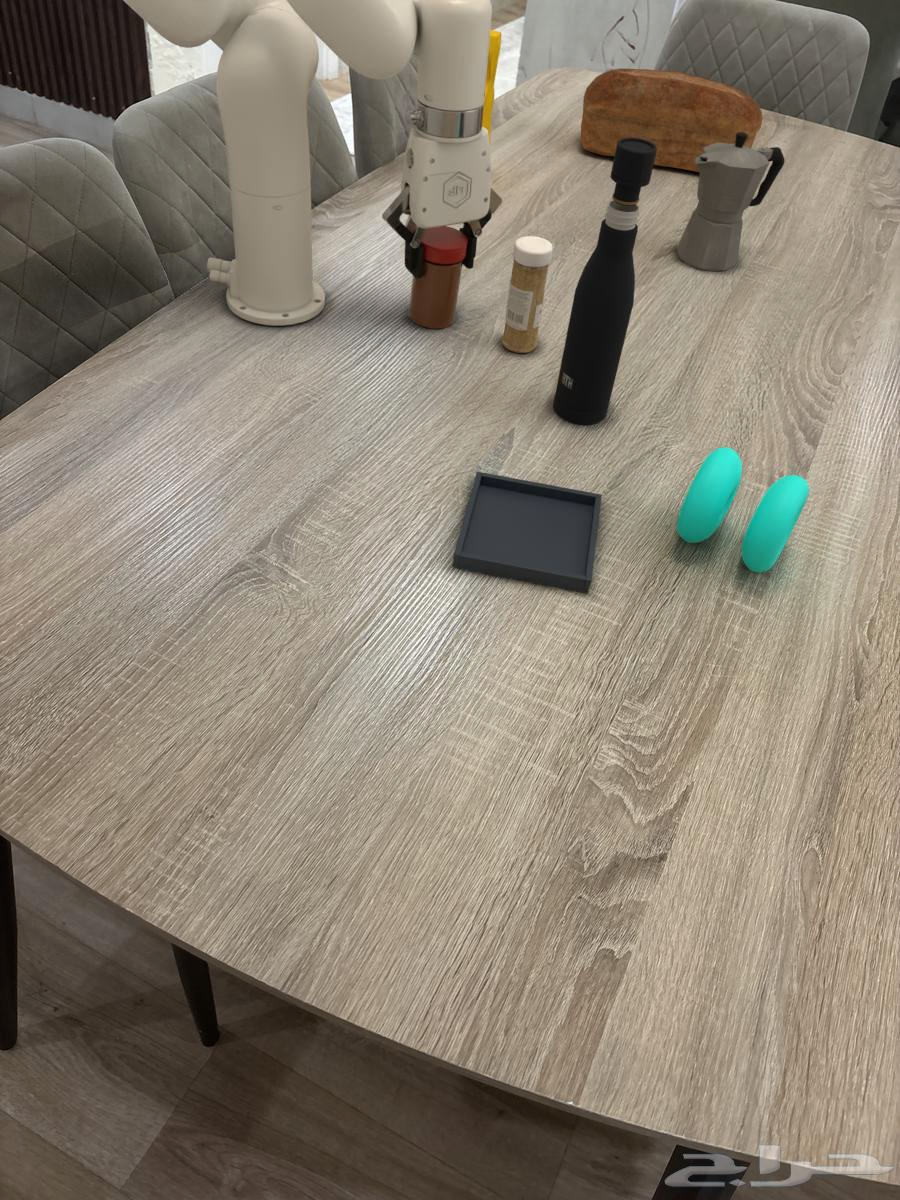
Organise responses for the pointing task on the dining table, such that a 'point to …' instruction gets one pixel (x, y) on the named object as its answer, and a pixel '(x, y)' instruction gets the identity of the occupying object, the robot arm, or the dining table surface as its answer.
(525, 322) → the spice jar
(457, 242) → the jar lid
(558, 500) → the slate tray
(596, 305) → the black bottle
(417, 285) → the jam jar
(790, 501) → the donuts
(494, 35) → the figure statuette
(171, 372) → the dining table surface
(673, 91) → the bread
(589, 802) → the dining table surface
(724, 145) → the coffeepot
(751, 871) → the dining table surface
